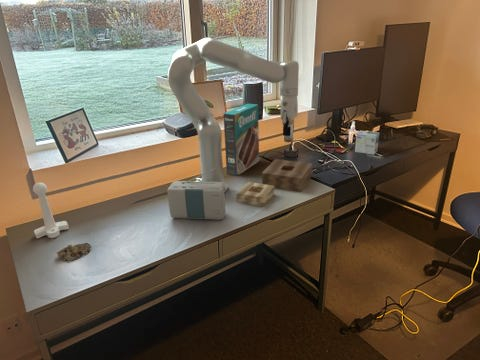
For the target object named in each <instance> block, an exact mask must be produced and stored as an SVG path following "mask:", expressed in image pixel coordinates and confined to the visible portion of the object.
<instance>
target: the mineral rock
mask: <svg viewBox="0 0 480 360" xmlns="http://www.w3.org/2000/svg"><path fill="white" fill-rule="evenodd" d="M91 248H92V245H91V244H90V243H89V242H84V243H77V244H74V245H73V244H71V243H70V244H67V245H66V247H63V248H62V249H60V250H59V251H56V255H57V258H58V259H59V260H60V261H62V262H73V261H75V260H76V259H80V258H82V257H83V256H85V255H87V254H88V253H89V252H90V251H92V250H91Z"/></svg>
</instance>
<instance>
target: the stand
mask: <svg viewBox="0 0 480 360" xmlns="http://www.w3.org/2000/svg"><path fill="white" fill-rule="evenodd" d="M273 196H275V188H274V186H272V185H266V184H262V183H258V182H252V181H247V183H246V184H245V185H244V186H243V187H242V188H240V190H239V191H237V193H236V201H237V203H241V204H247V205H254V206H258V207H265V206H266V205H268V202H269V201H271V199H272V198H273Z"/></svg>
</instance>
